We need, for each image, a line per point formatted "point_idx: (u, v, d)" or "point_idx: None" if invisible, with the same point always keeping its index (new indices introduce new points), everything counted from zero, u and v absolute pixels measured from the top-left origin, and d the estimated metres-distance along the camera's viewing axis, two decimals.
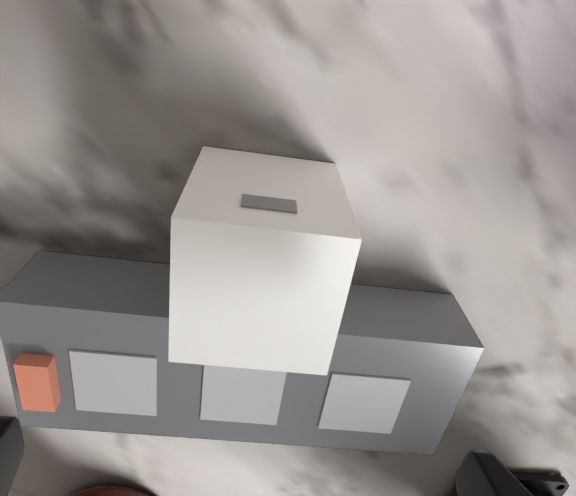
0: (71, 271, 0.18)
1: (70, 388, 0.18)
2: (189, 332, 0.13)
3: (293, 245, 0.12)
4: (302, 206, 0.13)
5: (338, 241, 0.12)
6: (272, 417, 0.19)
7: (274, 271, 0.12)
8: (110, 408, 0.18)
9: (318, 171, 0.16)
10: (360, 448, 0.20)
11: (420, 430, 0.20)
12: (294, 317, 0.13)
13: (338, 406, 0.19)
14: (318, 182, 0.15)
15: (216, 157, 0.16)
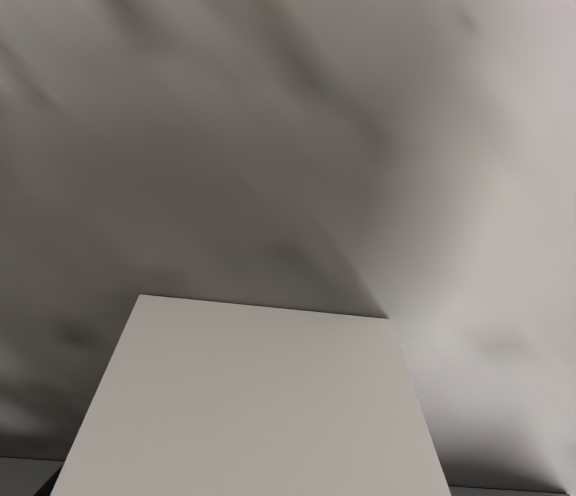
0: None
1: None
2: None
3: None
4: None
5: None
6: None
7: None
8: None
9: (362, 357, 0.08)
10: None
11: None
12: None
13: None
14: (367, 402, 0.07)
15: (159, 333, 0.08)
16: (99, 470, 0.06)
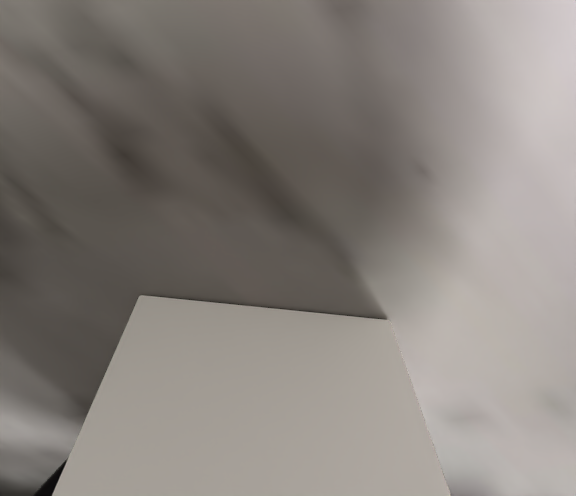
0: None
1: None
2: None
3: None
4: None
5: None
6: None
7: None
8: None
9: (362, 358, 0.08)
10: None
11: None
12: None
13: None
14: (368, 404, 0.07)
15: (159, 334, 0.08)
16: (100, 471, 0.06)
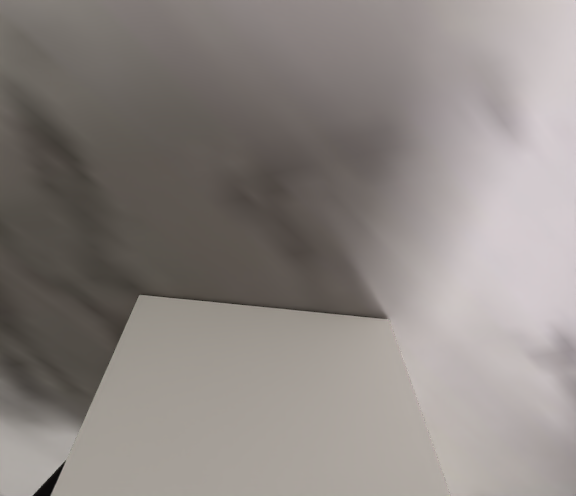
0: None
1: None
2: None
3: None
4: None
5: None
6: None
7: None
8: None
9: (362, 357, 0.08)
10: None
11: None
12: None
13: None
14: (367, 402, 0.07)
15: (159, 333, 0.08)
16: (99, 471, 0.06)
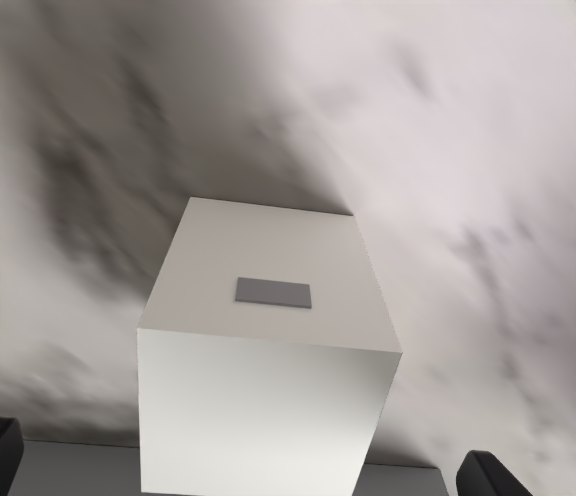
0: (52, 470, 0.18)
1: None
2: (167, 460, 0.10)
3: (307, 360, 0.09)
4: (317, 293, 0.10)
5: (370, 355, 0.09)
6: None
7: (280, 390, 0.09)
8: None
9: (334, 231, 0.13)
10: None
11: None
12: (308, 443, 0.10)
13: None
14: (335, 249, 0.12)
15: (206, 214, 0.13)
16: (184, 262, 0.10)
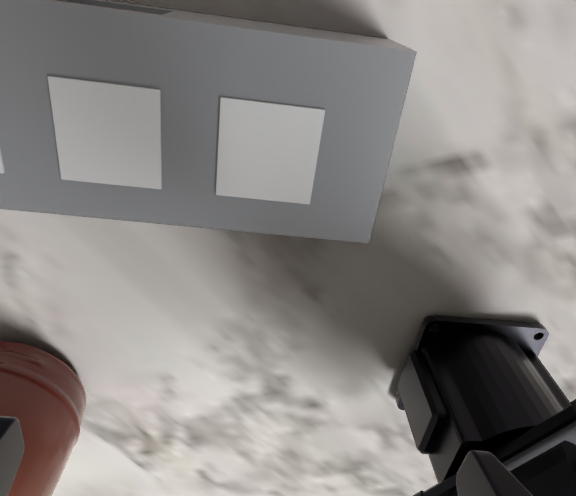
0: None
1: None
2: None
3: None
4: None
5: None
6: (156, 179, 0.15)
7: None
8: None
9: None
10: (275, 232, 0.16)
11: (348, 200, 0.16)
12: None
13: (236, 156, 0.14)
14: None
15: None
16: None
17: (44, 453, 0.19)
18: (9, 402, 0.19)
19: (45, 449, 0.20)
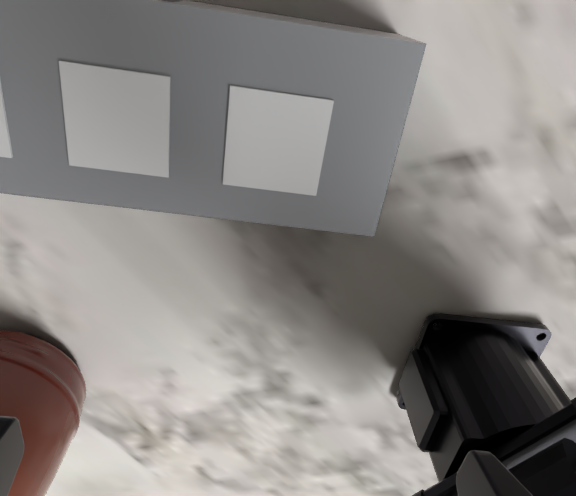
0: None
1: None
2: None
3: None
4: None
5: None
6: (163, 167, 0.15)
7: None
8: None
9: None
10: (280, 223, 0.16)
11: (354, 192, 0.16)
12: None
13: (244, 145, 0.15)
14: None
15: None
16: None
17: (44, 443, 0.19)
18: (10, 390, 0.19)
19: (45, 439, 0.19)
